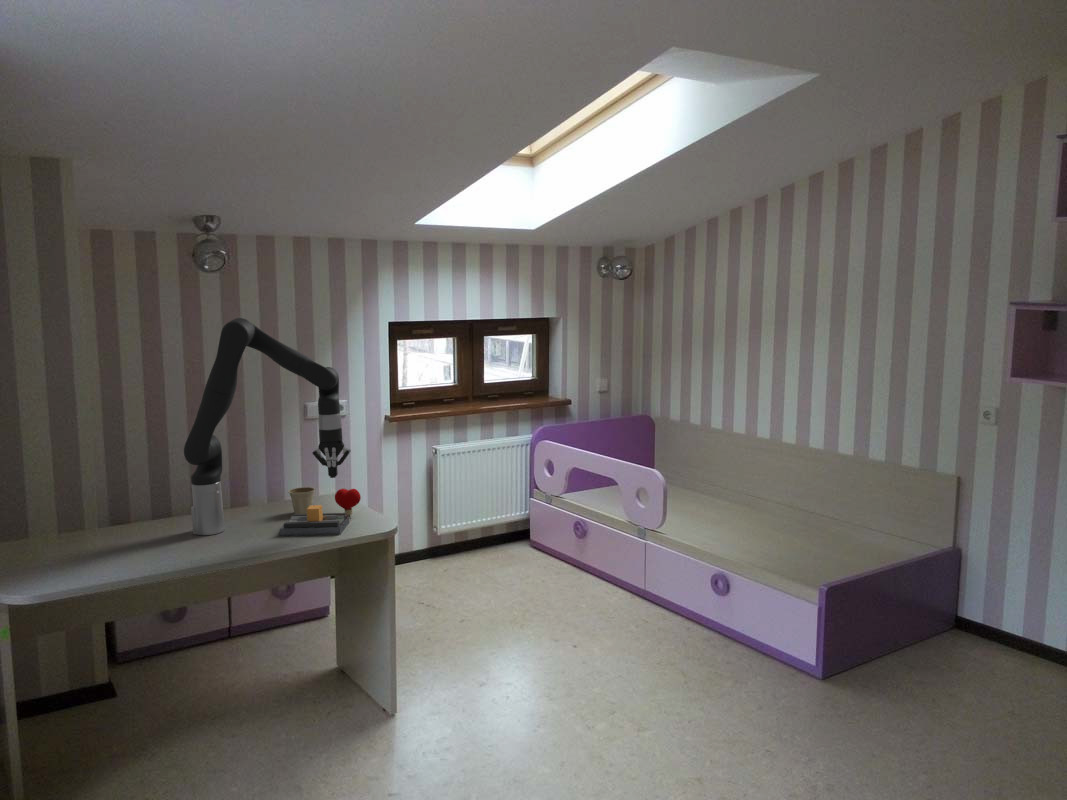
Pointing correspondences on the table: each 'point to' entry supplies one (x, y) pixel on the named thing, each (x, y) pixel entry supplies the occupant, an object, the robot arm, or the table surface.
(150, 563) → the table surface
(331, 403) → the robot arm
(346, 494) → the red heart figurine
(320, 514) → the tan cardboard cube
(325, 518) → the panel
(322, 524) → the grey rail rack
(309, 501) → the flower pot
